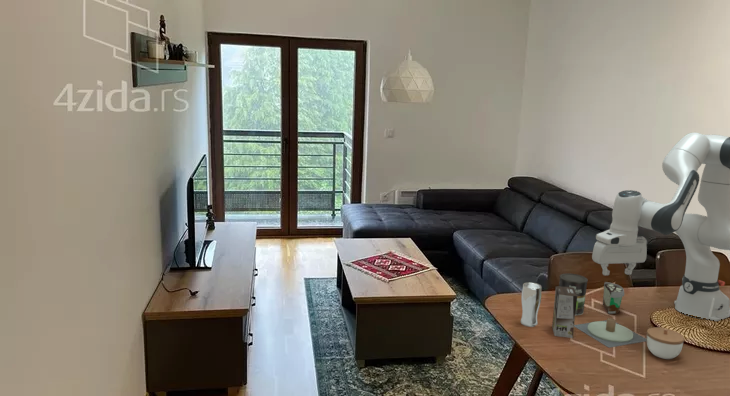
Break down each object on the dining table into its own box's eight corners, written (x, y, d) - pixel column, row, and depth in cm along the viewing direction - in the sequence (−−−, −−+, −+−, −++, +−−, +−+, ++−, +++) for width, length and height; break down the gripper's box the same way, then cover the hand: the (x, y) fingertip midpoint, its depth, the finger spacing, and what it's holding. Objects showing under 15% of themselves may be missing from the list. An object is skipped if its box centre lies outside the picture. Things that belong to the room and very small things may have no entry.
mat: (610, 320, 202) (610, 319, 202) (649, 341, 186) (649, 340, 186) (572, 326, 197) (572, 325, 196) (608, 348, 180) (608, 347, 180)
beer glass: (516, 319, 202) (519, 282, 199) (534, 319, 202) (537, 282, 199) (523, 327, 195) (526, 289, 192) (541, 327, 195) (545, 289, 192)
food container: (625, 318, 205) (628, 294, 203) (608, 316, 206) (611, 292, 204) (617, 305, 217) (620, 282, 215) (601, 304, 218) (604, 281, 216)
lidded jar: (666, 347, 182) (669, 321, 180) (688, 363, 172) (692, 336, 170) (637, 348, 181) (640, 323, 179) (658, 364, 170) (662, 337, 168)
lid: (610, 321, 200) (612, 309, 199) (642, 339, 187) (644, 326, 186) (578, 326, 196) (579, 313, 195) (609, 344, 182) (610, 331, 181)
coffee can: (583, 318, 204) (587, 283, 201) (555, 313, 208) (559, 279, 205) (583, 308, 213) (587, 275, 211) (556, 304, 217) (560, 271, 214)
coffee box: (573, 339, 186) (577, 296, 183) (554, 337, 188) (558, 294, 185) (569, 328, 195) (574, 287, 192) (551, 326, 197) (555, 285, 193)
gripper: (640, 234, 190) (634, 270, 193) (592, 234, 185) (586, 272, 188) (654, 238, 184) (647, 276, 187) (604, 239, 179) (598, 278, 182)
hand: (616, 274), depth 187 cm, fingers open, 8 cm apart
